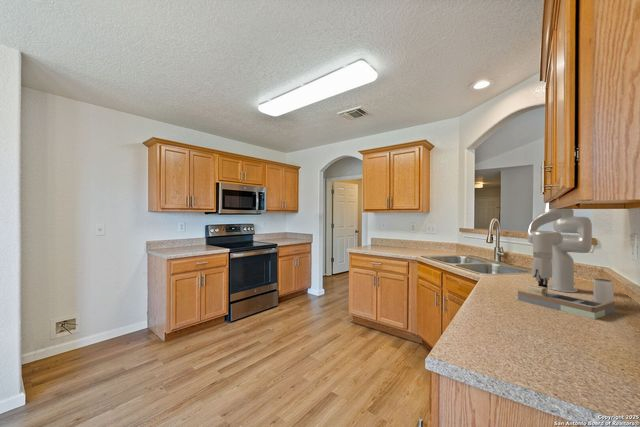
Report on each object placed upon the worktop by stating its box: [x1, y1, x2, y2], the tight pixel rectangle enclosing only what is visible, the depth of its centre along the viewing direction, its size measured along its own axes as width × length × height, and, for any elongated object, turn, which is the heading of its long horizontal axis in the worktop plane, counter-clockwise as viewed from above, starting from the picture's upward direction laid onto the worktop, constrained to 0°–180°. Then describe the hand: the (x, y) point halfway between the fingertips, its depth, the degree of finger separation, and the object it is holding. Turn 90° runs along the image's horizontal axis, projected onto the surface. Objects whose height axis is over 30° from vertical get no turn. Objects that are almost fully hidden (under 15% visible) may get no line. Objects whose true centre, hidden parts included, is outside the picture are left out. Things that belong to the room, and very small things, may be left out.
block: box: [526, 284, 549, 297], centre depth 131 cm, size 6×6×4 cm
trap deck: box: [517, 290, 616, 320], centre depth 124 cm, size 20×28×4 cm
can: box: [592, 278, 615, 304], centre depth 124 cm, size 6×6×12 cm
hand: (542, 291), depth 134 cm, fingers closed
